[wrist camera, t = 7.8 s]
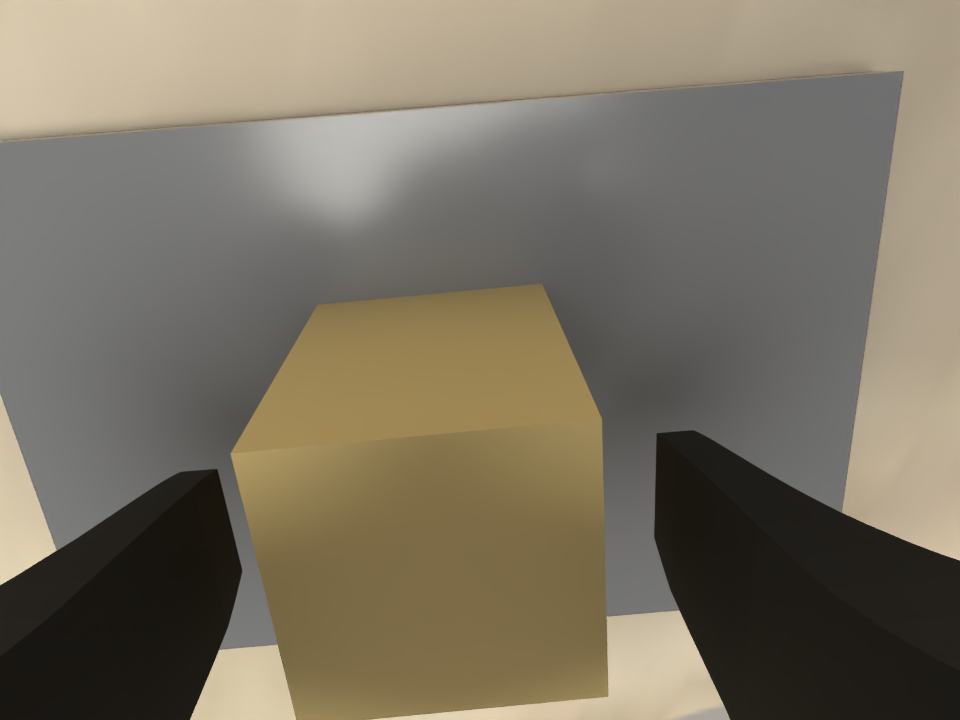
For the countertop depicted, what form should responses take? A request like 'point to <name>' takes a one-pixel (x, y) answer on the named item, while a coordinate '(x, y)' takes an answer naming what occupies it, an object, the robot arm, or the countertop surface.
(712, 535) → the robot arm
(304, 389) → the ochre block
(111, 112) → the countertop surface
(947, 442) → the countertop surface
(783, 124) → the slate board
